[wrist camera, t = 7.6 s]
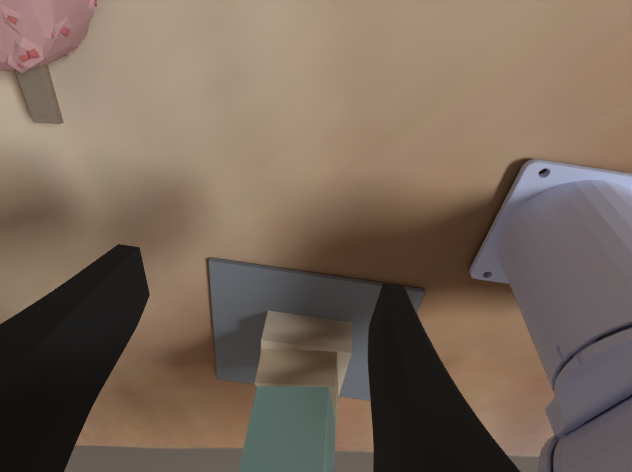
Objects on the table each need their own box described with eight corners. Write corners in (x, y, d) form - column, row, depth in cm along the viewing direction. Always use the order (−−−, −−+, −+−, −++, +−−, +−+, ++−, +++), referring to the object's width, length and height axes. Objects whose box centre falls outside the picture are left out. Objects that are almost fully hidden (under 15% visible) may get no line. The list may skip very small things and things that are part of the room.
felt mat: (424, 288, 26) (425, 292, 25) (377, 398, 34) (377, 402, 34) (209, 257, 25) (208, 260, 25) (218, 375, 34) (217, 378, 34)
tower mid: (337, 351, 26) (335, 386, 24) (338, 392, 29) (336, 426, 27) (262, 348, 26) (254, 383, 24) (271, 389, 30) (265, 422, 28)
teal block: (328, 386, 24) (322, 476, 20) (335, 422, 27) (331, 508, 23) (257, 386, 25) (238, 473, 21) (271, 421, 27) (257, 504, 24)
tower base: (352, 322, 28) (351, 353, 26) (338, 369, 32) (337, 399, 30) (267, 310, 28) (261, 339, 26) (264, 358, 32) (258, 388, 30)
